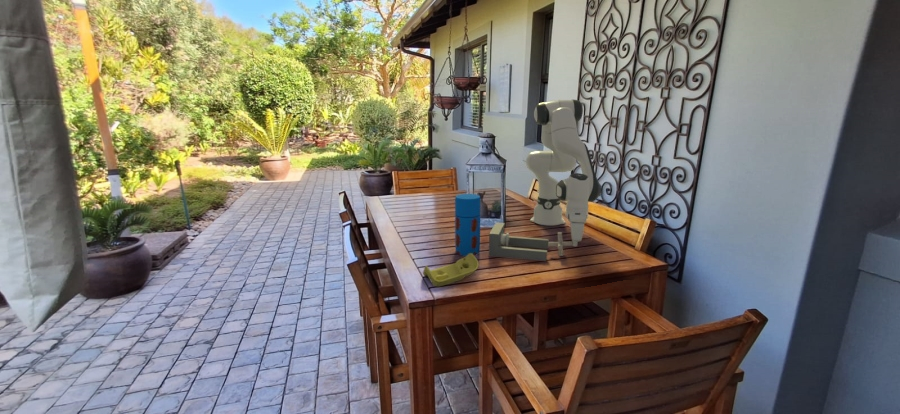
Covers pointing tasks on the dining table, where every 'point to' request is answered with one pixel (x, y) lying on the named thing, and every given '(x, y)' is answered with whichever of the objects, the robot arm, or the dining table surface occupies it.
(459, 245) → the thermos
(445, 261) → the dining table surface
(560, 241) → the pipe connector
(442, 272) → the plastic component
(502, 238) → the rounded knob
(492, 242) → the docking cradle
